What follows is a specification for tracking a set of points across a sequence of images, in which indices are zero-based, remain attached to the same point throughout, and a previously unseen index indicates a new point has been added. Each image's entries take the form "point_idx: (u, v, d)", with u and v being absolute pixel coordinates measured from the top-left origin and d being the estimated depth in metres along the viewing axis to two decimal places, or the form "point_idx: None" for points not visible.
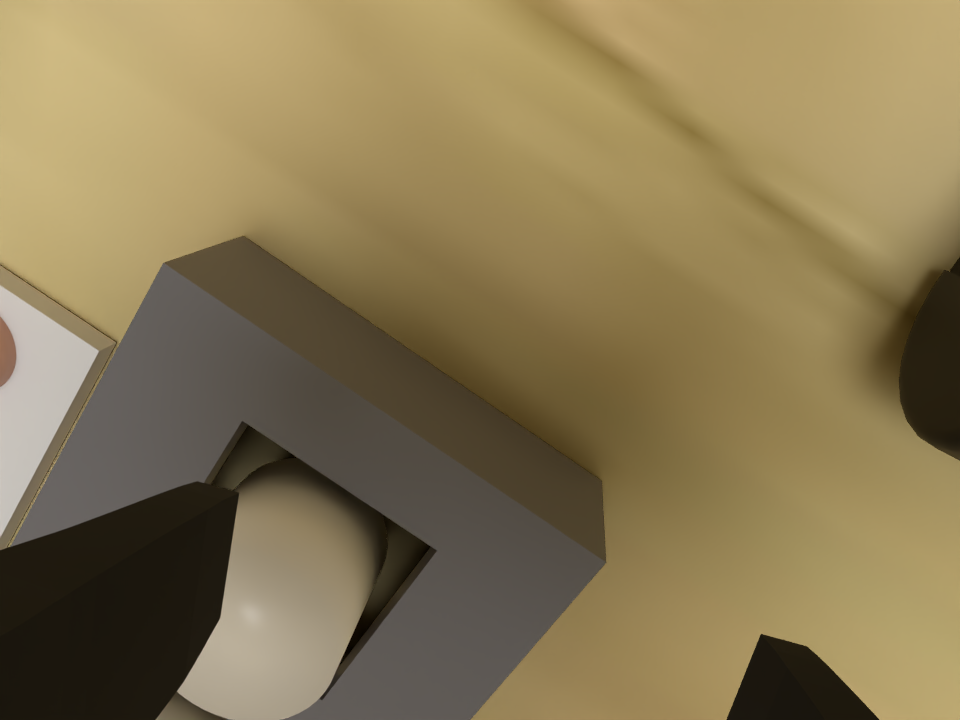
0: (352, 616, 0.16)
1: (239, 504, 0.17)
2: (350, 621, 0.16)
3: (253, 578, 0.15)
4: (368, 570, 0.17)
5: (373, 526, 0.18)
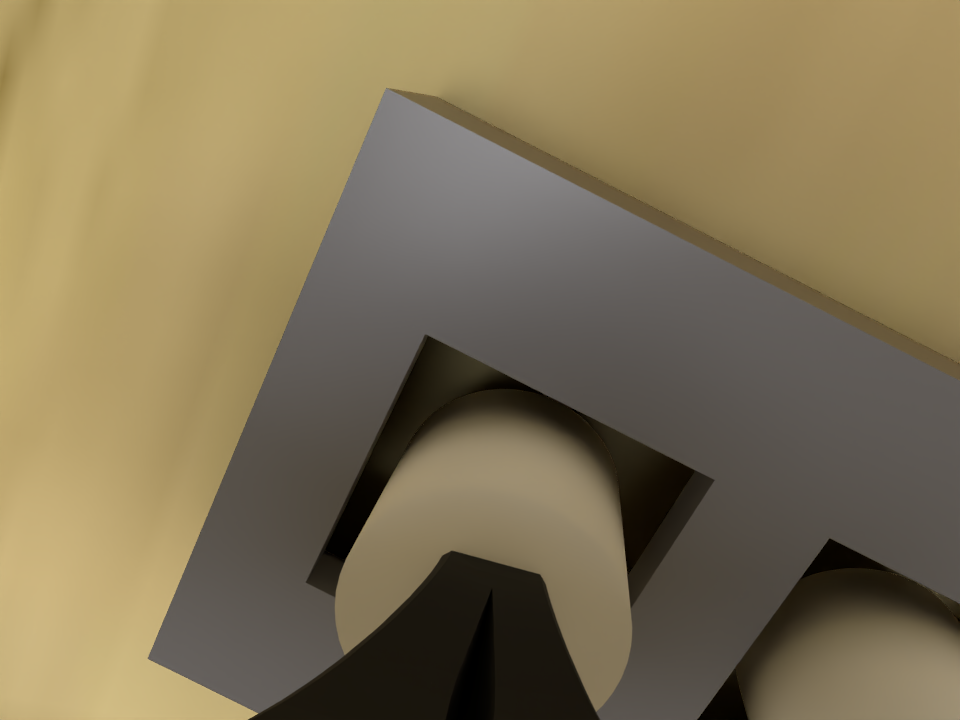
0: (471, 459, 0.11)
1: None
2: (466, 465, 0.11)
3: (382, 604, 0.11)
4: (470, 426, 0.12)
5: (446, 414, 0.13)
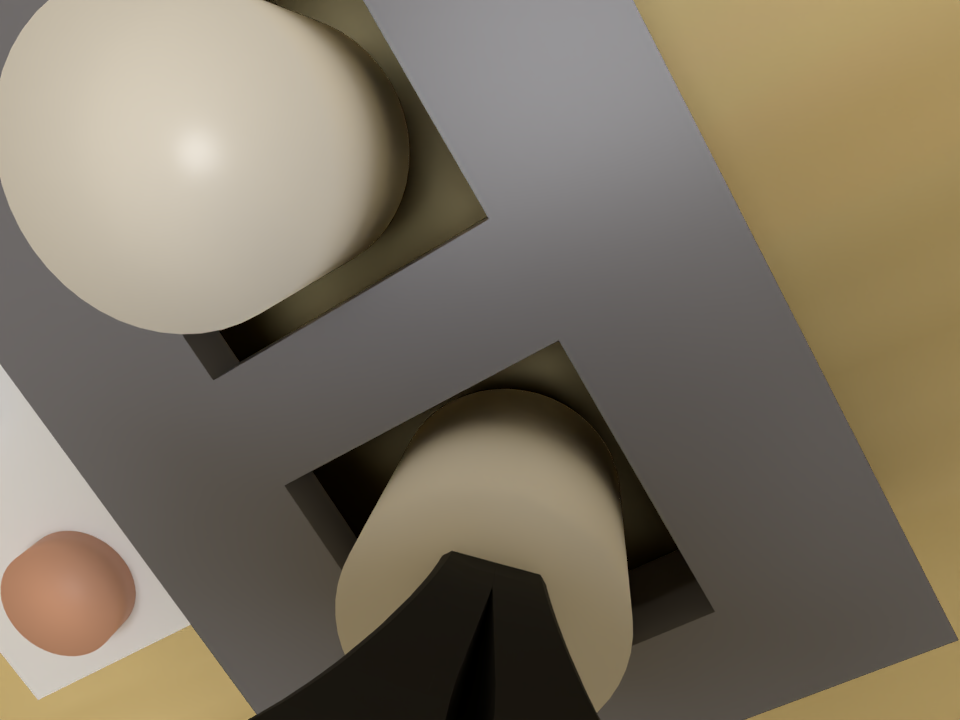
0: None
1: None
2: None
3: None
4: None
5: None
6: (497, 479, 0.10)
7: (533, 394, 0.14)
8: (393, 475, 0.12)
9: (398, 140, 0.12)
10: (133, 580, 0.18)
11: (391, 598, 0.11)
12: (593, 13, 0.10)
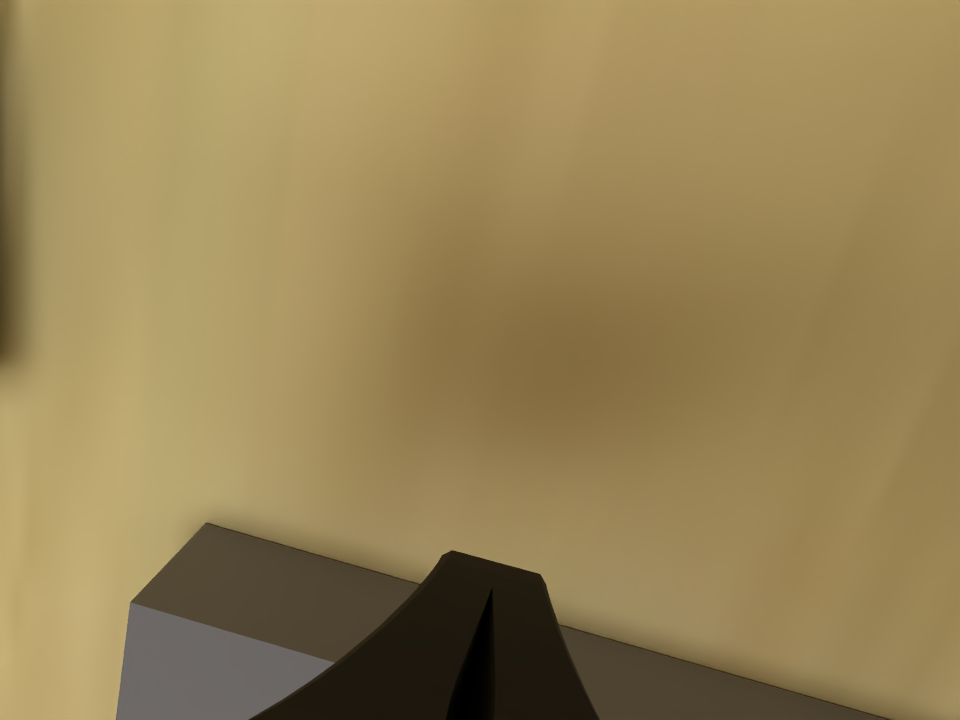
0: None
1: None
2: None
3: None
4: None
5: None
6: None
7: None
8: None
9: None
10: None
11: None
12: None
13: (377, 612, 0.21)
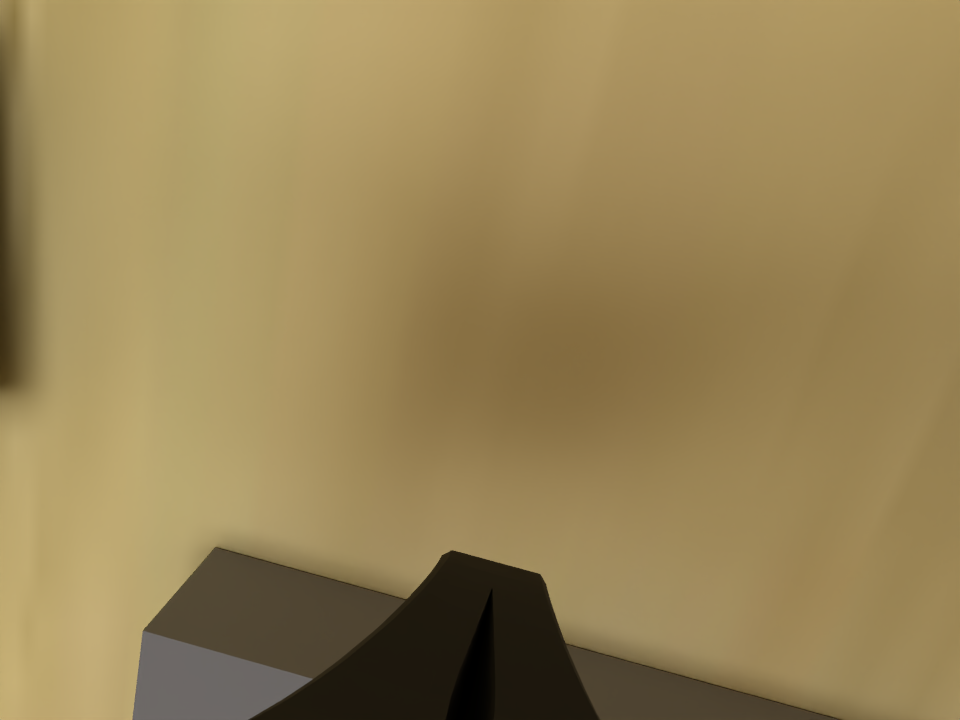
0: None
1: None
2: None
3: None
4: None
5: None
6: None
7: None
8: None
9: None
10: None
11: None
12: None
13: None
